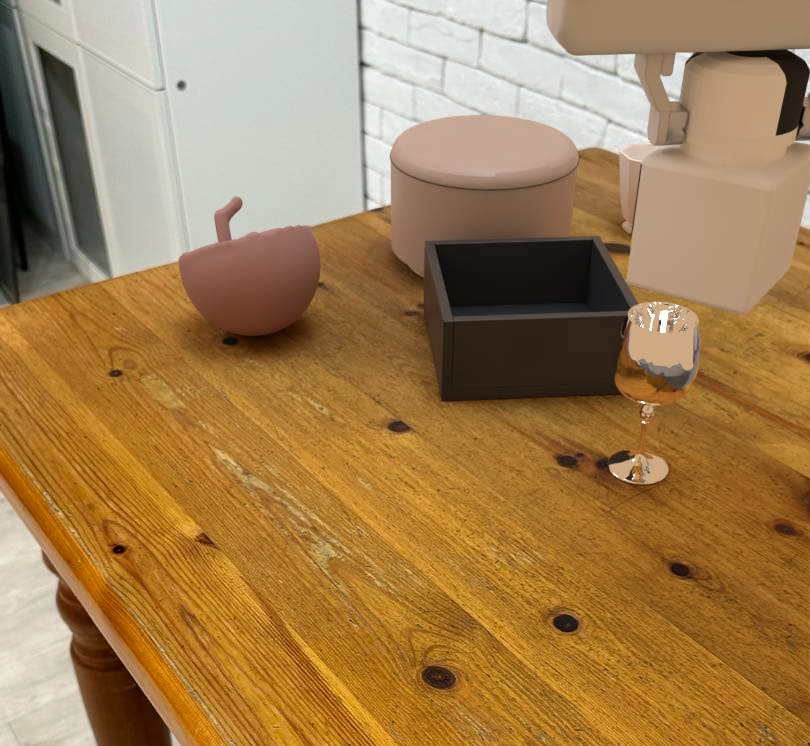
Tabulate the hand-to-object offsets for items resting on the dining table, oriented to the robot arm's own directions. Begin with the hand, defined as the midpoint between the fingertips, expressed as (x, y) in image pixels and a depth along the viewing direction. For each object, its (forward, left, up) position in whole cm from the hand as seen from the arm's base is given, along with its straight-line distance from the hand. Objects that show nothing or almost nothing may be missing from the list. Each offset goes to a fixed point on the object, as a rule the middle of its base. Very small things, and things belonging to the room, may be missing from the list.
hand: (733, 140), depth 54 cm
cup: (-14, -52, -26) cm, 60 cm away
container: (+6, -46, -26) cm, 53 cm away
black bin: (+5, -26, -26) cm, 37 cm away
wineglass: (-1, -8, -26) cm, 27 cm away
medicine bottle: (0, 0, -8) cm, 8 cm away
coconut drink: (+28, -32, -26) cm, 50 cm away
